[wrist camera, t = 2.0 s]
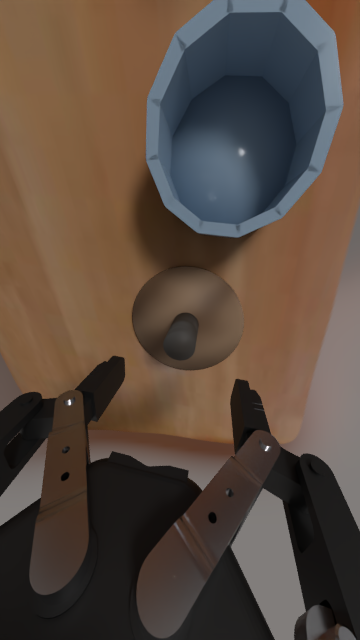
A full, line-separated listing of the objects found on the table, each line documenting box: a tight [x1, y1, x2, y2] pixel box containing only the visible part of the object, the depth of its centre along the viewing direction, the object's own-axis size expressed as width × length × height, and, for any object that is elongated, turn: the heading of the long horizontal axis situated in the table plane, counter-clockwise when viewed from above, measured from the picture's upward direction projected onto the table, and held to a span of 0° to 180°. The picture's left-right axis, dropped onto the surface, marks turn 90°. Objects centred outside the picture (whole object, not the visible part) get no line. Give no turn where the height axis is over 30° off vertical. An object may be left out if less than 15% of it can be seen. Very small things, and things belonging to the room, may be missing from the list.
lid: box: [132, 267, 244, 370], centre depth 20 cm, size 13×13×6 cm
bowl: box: [146, 0, 343, 238], centre depth 14 cm, size 11×11×5 cm
